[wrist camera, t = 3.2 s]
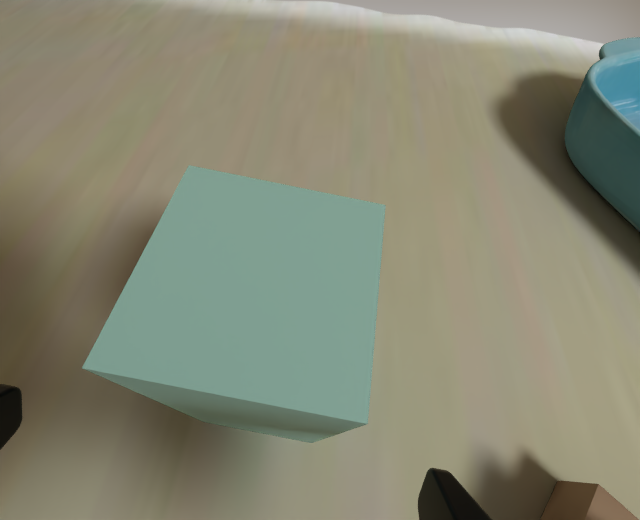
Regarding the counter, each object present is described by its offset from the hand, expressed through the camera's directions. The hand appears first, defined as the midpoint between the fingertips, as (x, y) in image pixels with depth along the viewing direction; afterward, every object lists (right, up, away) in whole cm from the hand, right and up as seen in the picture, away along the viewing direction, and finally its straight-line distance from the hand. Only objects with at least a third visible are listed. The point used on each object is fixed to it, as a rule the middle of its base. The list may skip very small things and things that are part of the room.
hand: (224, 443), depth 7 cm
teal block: (-1, -2, +11) cm, 11 cm away
